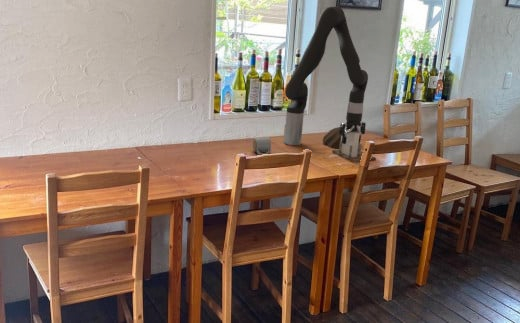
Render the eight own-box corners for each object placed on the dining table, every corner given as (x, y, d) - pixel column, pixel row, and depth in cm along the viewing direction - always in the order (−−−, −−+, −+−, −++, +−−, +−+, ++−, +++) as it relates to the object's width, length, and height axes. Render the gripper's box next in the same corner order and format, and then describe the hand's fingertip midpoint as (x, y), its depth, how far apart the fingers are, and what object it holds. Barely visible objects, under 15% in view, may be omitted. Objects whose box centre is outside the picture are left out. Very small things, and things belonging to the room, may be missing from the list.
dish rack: (331, 152, 250) (333, 139, 248) (353, 150, 256) (355, 137, 254) (353, 162, 235) (355, 148, 233) (376, 160, 241) (378, 146, 239)
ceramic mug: (251, 150, 245) (252, 135, 242) (267, 149, 247) (268, 135, 244) (256, 156, 235) (257, 141, 233) (272, 156, 237) (273, 141, 235)
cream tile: (339, 151, 248) (342, 128, 245) (344, 150, 250) (347, 128, 246) (351, 156, 240) (354, 133, 236) (356, 156, 241) (359, 133, 238)
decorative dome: (318, 139, 274) (320, 122, 271) (352, 140, 277) (354, 123, 274) (326, 149, 256) (328, 131, 253) (362, 150, 259) (365, 132, 256)
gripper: (361, 109, 244) (357, 140, 249) (338, 110, 237) (334, 142, 242) (371, 112, 237) (366, 144, 242) (348, 113, 231) (344, 146, 236)
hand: (350, 143), depth 242 cm, fingers open, 8 cm apart
